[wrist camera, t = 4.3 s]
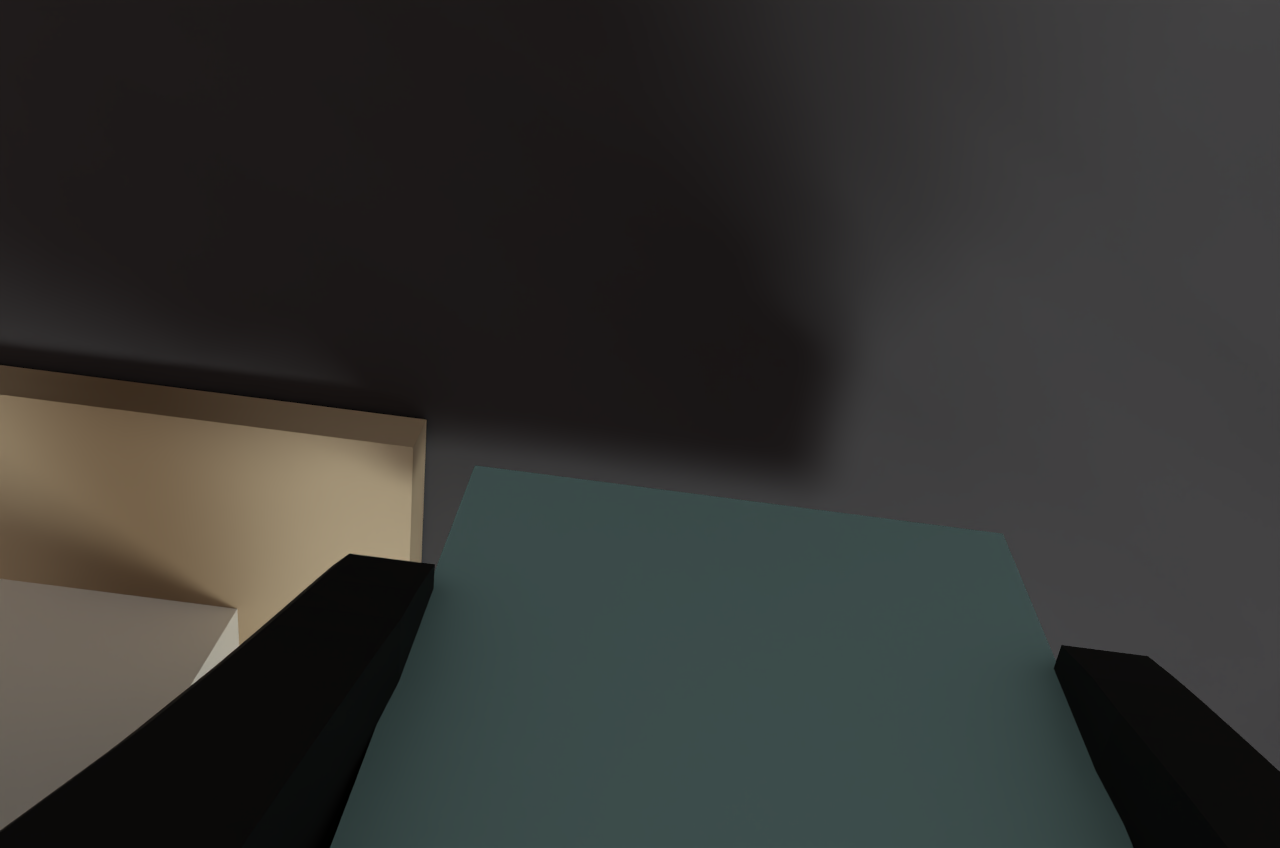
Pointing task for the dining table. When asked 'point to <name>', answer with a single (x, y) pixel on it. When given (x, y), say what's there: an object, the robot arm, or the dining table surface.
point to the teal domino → (721, 685)
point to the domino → (90, 676)
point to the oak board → (197, 490)
